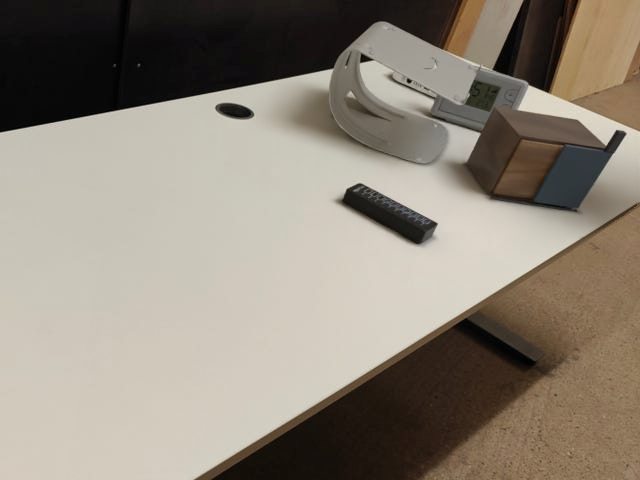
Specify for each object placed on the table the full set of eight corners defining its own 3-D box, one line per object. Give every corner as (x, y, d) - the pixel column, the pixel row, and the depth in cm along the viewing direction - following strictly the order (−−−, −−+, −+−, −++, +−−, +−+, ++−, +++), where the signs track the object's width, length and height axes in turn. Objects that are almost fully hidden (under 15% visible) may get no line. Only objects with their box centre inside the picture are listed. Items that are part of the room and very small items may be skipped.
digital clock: (424, 114, 143) (446, 63, 135) (437, 104, 148) (459, 55, 141) (499, 143, 137) (525, 91, 130) (509, 131, 143) (535, 81, 136)
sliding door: (578, 209, 117) (627, 133, 108) (533, 202, 117) (578, 125, 107) (576, 206, 118) (624, 130, 109) (531, 199, 117) (575, 123, 108)
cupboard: (576, 211, 118) (614, 153, 111) (491, 199, 117) (523, 139, 109) (545, 175, 128) (577, 119, 121) (466, 163, 127) (493, 106, 119)
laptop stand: (346, 93, 146) (371, 16, 135) (454, 127, 140) (489, 50, 129) (313, 130, 128) (339, 45, 117) (435, 170, 122) (473, 85, 111)
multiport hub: (419, 244, 101) (425, 231, 99) (340, 201, 108) (345, 188, 106) (432, 236, 104) (439, 223, 102) (355, 194, 110) (360, 182, 109)
